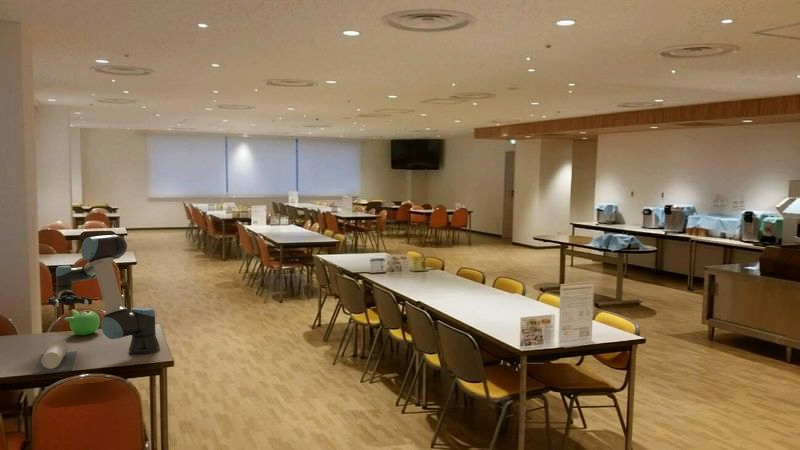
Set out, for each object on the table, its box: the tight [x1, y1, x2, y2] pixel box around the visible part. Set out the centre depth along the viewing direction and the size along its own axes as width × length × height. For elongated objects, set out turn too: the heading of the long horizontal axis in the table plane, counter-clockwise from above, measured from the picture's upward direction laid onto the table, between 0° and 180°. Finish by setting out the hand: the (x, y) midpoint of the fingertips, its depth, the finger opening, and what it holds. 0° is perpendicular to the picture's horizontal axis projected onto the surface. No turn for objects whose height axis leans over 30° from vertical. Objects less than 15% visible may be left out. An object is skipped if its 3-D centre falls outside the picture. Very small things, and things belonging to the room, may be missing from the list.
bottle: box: [42, 339, 69, 369], centre depth 310 cm, size 8×8×28 cm
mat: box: [32, 350, 78, 376], centre depth 308 cm, size 32×16×1 cm, turn 23°
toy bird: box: [63, 309, 101, 336], centre depth 361 cm, size 18×17×15 cm
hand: (72, 304), depth 317 cm, fingers open, 13 cm apart
